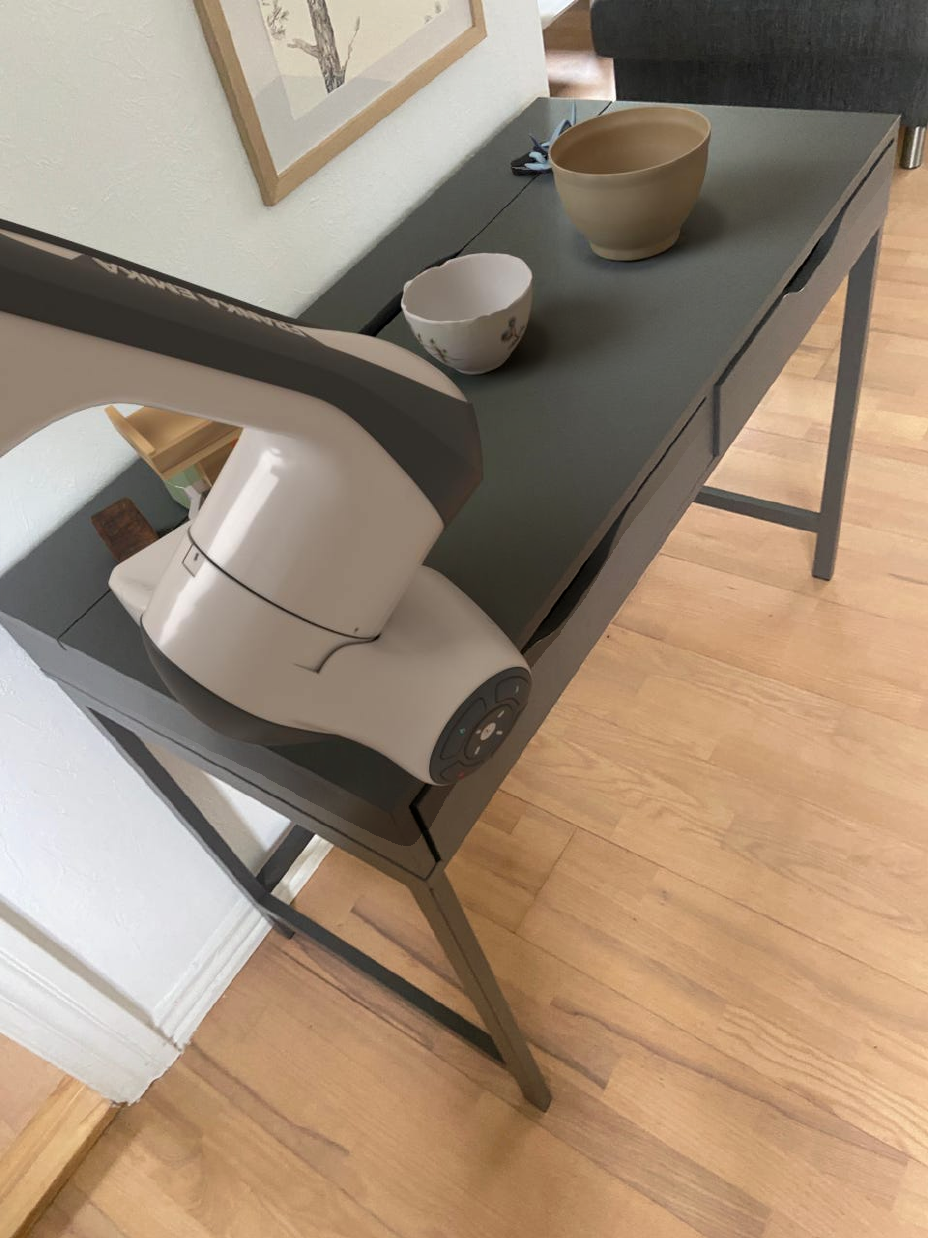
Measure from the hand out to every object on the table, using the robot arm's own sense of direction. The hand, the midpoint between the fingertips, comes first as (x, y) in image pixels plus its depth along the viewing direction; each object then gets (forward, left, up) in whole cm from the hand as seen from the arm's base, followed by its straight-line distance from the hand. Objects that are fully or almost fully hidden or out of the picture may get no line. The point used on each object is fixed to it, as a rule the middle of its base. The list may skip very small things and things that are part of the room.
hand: (220, 476), depth 62 cm
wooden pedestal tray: (+1, 0, -5) cm, 5 cm away
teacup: (-1, +36, -14) cm, 38 cm away
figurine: (-8, +76, -14) cm, 77 cm away
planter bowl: (+8, +59, -15) cm, 61 cm away
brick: (-16, +1, -14) cm, 22 cm away
